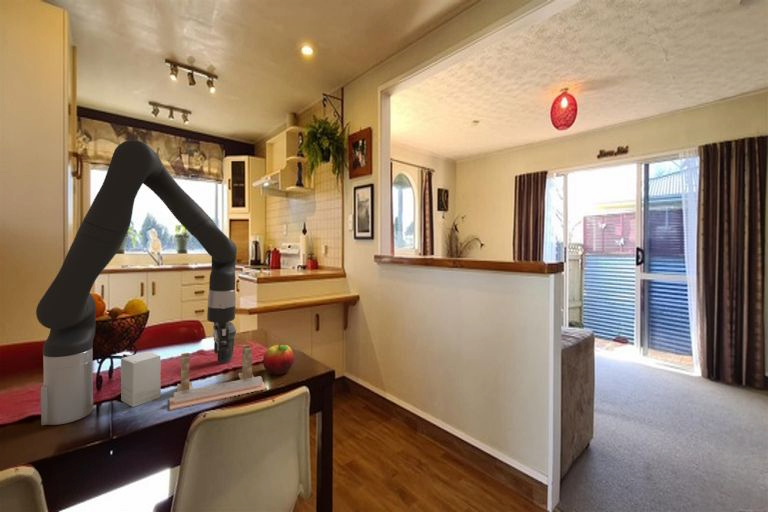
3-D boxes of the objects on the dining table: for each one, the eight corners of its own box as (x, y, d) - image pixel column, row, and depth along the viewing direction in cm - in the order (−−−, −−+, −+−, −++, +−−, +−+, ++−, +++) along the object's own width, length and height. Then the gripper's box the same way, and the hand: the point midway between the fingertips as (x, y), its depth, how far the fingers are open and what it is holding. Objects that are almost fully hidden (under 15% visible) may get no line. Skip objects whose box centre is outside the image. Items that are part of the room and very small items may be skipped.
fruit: (285, 363, 126) (285, 338, 126) (299, 372, 119) (300, 345, 118) (257, 370, 119) (258, 343, 118) (271, 380, 111) (271, 351, 110)
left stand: (177, 396, 98) (177, 360, 98) (177, 387, 103) (177, 353, 103) (193, 393, 100) (193, 357, 100) (191, 385, 106) (192, 351, 105)
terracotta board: (169, 410, 90) (169, 408, 90) (169, 399, 96) (169, 398, 96) (267, 389, 104) (267, 388, 104) (262, 381, 110) (262, 379, 110)
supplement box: (161, 397, 97) (161, 355, 97) (132, 408, 91) (132, 363, 90) (149, 390, 101) (149, 350, 100) (120, 400, 95) (119, 357, 94)
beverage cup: (227, 365, 122) (228, 312, 121) (210, 363, 123) (210, 311, 122) (239, 359, 129) (240, 308, 128) (223, 357, 131) (224, 307, 130)
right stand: (242, 383, 108) (242, 350, 107) (238, 376, 113) (239, 345, 113) (254, 381, 110) (255, 348, 110) (251, 374, 116) (251, 343, 115)
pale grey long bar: (173, 404, 93) (173, 396, 92) (173, 400, 95) (173, 392, 94) (262, 386, 106) (262, 378, 106) (260, 383, 108) (260, 375, 108)
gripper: (205, 300, 103) (203, 351, 103) (210, 310, 91) (208, 367, 91) (231, 299, 107) (229, 348, 107) (239, 308, 95) (237, 363, 96)
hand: (219, 357), depth 99 cm, fingers open, 8 cm apart
